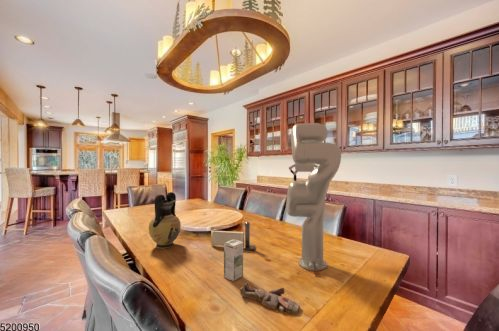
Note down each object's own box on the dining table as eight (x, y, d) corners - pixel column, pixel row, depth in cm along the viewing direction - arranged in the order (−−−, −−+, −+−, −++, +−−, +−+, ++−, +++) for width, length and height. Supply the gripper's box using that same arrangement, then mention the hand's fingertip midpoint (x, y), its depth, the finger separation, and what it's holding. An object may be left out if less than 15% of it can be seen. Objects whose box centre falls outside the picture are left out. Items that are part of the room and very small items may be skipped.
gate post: (253, 250, 121) (253, 223, 120) (244, 250, 122) (243, 223, 121) (255, 247, 125) (255, 221, 125) (245, 246, 126) (245, 220, 126)
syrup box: (233, 272, 97) (233, 238, 97) (243, 276, 94) (243, 241, 93) (223, 277, 93) (223, 242, 93) (234, 282, 89) (233, 245, 89)
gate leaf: (243, 247, 123) (243, 233, 123) (211, 245, 126) (210, 231, 126) (244, 246, 125) (244, 232, 125) (212, 244, 128) (212, 230, 128)
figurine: (248, 276, 84) (301, 292, 74) (248, 289, 84) (301, 307, 75) (238, 286, 78) (295, 305, 68) (238, 300, 78) (295, 321, 69)
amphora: (170, 253, 118) (169, 195, 117) (141, 250, 121) (141, 195, 121) (186, 241, 135) (185, 191, 135) (160, 239, 139) (160, 190, 138)
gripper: (288, 151, 125) (288, 182, 125) (321, 151, 122) (321, 182, 122) (288, 152, 132) (288, 181, 132) (319, 151, 130) (319, 181, 130)
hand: (304, 182), depth 127 cm, fingers open, 9 cm apart
